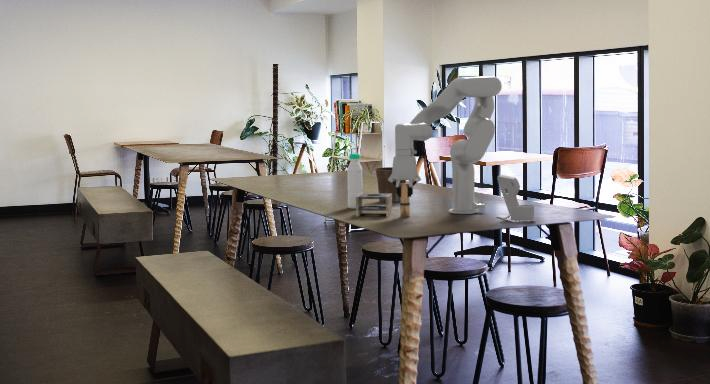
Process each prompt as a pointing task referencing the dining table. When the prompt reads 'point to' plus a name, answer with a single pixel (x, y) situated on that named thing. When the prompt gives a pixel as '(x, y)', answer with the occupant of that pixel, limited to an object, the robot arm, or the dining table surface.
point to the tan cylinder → (404, 200)
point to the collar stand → (361, 207)
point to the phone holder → (514, 200)
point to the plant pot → (387, 184)
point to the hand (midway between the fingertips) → (404, 196)
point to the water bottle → (354, 180)
